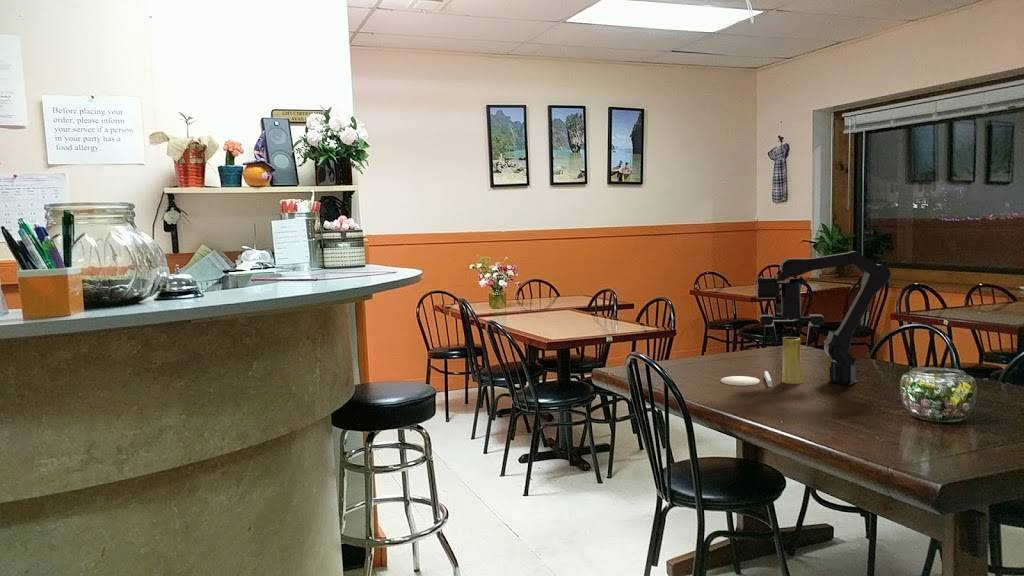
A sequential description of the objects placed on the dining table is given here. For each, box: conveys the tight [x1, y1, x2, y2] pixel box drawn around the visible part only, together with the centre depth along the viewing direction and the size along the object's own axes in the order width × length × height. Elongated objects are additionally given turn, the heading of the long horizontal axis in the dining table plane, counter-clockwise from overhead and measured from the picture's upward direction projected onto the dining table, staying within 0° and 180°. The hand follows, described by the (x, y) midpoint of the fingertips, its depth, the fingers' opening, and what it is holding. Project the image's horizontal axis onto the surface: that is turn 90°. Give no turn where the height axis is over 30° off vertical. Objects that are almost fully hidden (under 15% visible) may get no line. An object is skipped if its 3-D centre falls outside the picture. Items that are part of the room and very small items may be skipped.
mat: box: [720, 375, 760, 387], centre depth 226 cm, size 12×12×1 cm
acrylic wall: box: [764, 370, 773, 388], centre depth 223 cm, size 14×1×2 cm, turn 165°
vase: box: [781, 336, 803, 385], centre depth 221 cm, size 6×6×14 cm
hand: (791, 346), depth 221 cm, fingers open, 9 cm apart
